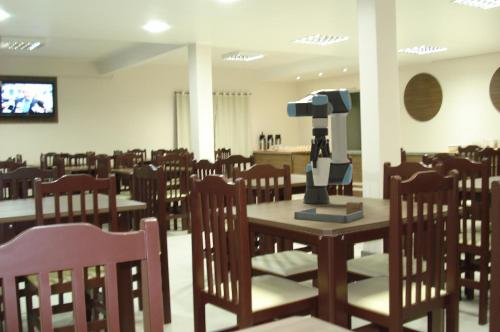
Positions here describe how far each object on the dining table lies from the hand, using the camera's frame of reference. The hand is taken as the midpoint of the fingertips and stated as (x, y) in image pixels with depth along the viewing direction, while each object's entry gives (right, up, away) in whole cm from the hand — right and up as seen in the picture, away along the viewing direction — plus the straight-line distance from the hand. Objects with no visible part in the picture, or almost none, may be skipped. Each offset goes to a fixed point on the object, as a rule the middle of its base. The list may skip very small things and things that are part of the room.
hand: (320, 174), depth 258 cm
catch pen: (+4, -20, -2) cm, 21 cm away
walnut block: (+17, -20, +6) cm, 27 cm away
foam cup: (0, -5, 0) cm, 5 cm away
